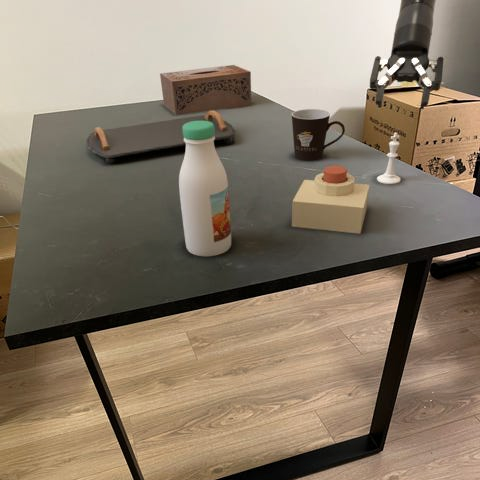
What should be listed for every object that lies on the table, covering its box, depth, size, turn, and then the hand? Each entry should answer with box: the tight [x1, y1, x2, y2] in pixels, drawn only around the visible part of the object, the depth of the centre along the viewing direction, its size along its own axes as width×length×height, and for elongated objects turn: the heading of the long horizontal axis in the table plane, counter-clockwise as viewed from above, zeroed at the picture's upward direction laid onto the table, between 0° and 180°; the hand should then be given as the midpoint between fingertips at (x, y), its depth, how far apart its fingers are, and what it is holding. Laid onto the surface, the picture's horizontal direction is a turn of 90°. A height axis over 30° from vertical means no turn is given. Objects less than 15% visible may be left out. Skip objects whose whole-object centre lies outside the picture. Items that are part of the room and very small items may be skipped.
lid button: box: [323, 165, 348, 184], centre depth 83 cm, size 4×4×2 cm
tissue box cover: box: [159, 64, 252, 116], centre depth 153 cm, size 26×14×10 cm, turn 112°
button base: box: [291, 172, 370, 235], centre depth 84 cm, size 12×10×7 cm
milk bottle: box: [178, 121, 232, 257], centre depth 73 cm, size 8×8×20 cm
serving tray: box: [85, 110, 236, 165], centre depth 123 cm, size 39×23×6 cm, turn 113°
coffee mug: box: [291, 108, 346, 162], centre depth 108 cm, size 12×9×10 cm
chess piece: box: [376, 132, 402, 185], centre depth 96 cm, size 5×5×10 cm
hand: (400, 106), depth 98 cm, fingers open, 8 cm apart
